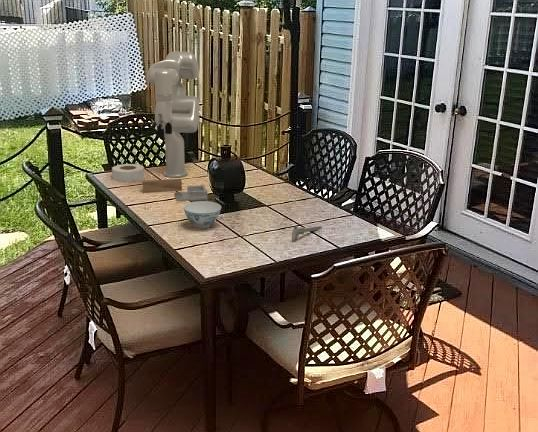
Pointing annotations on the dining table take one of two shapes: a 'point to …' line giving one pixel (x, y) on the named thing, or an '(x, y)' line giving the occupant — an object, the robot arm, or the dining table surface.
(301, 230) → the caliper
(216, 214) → the chinaware
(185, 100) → the robot arm
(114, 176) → the roll of tape
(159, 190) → the walnut rail
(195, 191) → the cup bracket
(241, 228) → the dining table surface
